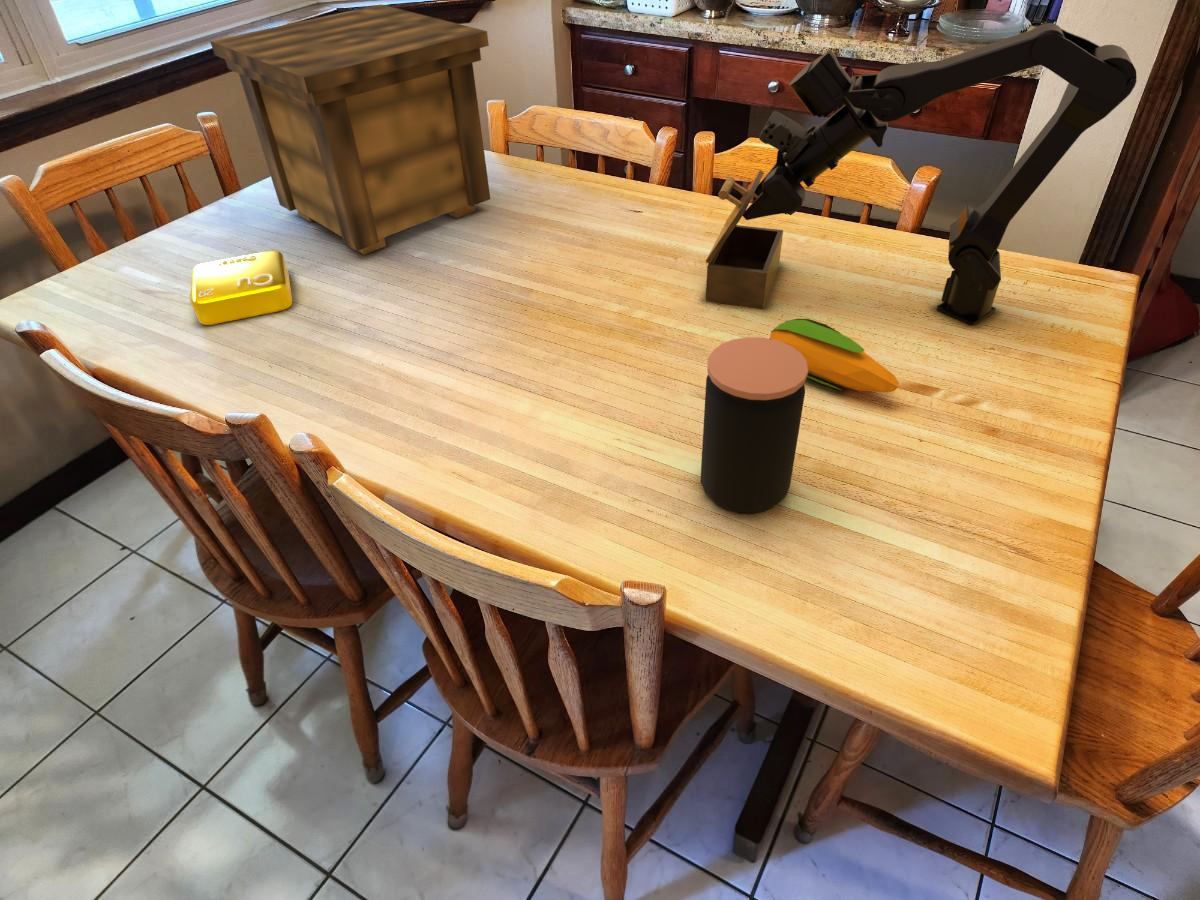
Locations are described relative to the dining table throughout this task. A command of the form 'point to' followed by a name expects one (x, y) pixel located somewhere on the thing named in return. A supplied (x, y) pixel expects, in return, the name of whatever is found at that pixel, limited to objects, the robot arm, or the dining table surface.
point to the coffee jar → (751, 422)
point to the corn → (834, 356)
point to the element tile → (240, 287)
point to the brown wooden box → (744, 267)
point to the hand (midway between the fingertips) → (750, 205)
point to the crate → (366, 118)
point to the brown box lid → (737, 211)
